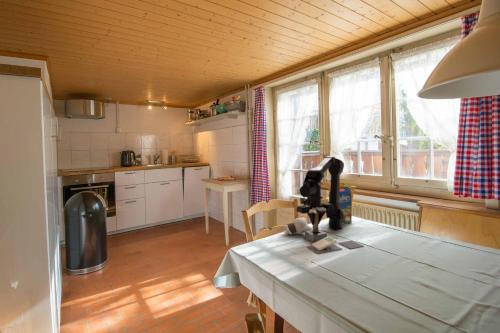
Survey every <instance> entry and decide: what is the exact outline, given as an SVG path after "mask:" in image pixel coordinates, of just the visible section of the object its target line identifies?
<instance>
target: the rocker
mask: <svg viewBox="0 0 500 333" xmlns="http://www.w3.org/2000/svg"><path fill="white" fill-rule="evenodd" d="M337 242H338V241H337V239H336V238H334V237H331V236H330V235H327V237H325V238H323V239H321V240H319V241H317V242H315V243H311V245H312V247H314V248H316V249H317V250H319V251H320V250H322V249H324V248H326V247H328V246H330V245H332V244H334V245H335V243H337Z"/></svg>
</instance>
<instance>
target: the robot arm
mask: <svg viewBox="0 0 500 333" xmlns="http://www.w3.org/2000/svg"><path fill="white" fill-rule="evenodd" d="M344 168H345V164H344V162H343V161H342V159H339V158H336V157H335V156H325V157H324V159H323V160H322V161H321V162H319V163H318V164H317V166H315V167H311V168H310V169H308V171H307V172H306V175H305V178H304V181H303V183H302V185H301V186H300V187H299V188H300V189H299V195H300V196H301V198H300V200H299V201H300V202H299V203H300V204H301V205H298V206H296V212H297V213H299V214H303V215H304V214H306V215H308V218H309V220H310V223H311V225H312V226H313V225H314V220H315V213H318V225H320V223H321V222H322V219H323V217H324V216H326V218H327V219H328V226H327V228H328V229H330V230H333V231H339V230H344V227H343V226H342V225H343V224H342V219H344V213H343V211H342V208H341V204H340V202H339V183H340V177H341V175H342V173H343V172H344ZM327 170H328V173H329V175H330V186H329V187H330V189H329V192H330V201H329V200H328V202H322V199H323V196H322V187H321V186H322V185H323V183H322V180H323V178H324V176H325V173H326V171H327ZM314 211H315V212H314Z"/></svg>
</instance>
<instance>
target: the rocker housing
mask: <svg viewBox="0 0 500 333" xmlns="http://www.w3.org/2000/svg"><path fill="white" fill-rule="evenodd" d="M306 248H308V249H309V250H311V251H312V252H314V253H315V254H318V255H320V254H326V253H331V252H332V253H333V252H335V251H336V252H337V251H342V250H343V248H342V247H340V246H338V245H337V244H335V243H334V244H332V245H330V246H328V247H326V248H324V249H322V250H320V251H319V250H317V249H316V248H314V247H312V245H306Z"/></svg>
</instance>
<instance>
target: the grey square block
mask: <svg viewBox="0 0 500 333" xmlns="http://www.w3.org/2000/svg"><path fill="white" fill-rule="evenodd" d="M327 236H328V233H327V232H324V231H323V230H321V229H319V228H318V232H314V231H313V230H308V231H305V233H304V239H305V240H307V241H308V242H310V243H311V244H313V243H315V242H317V241H319V240H321V239H323V238H325V237H327Z"/></svg>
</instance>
